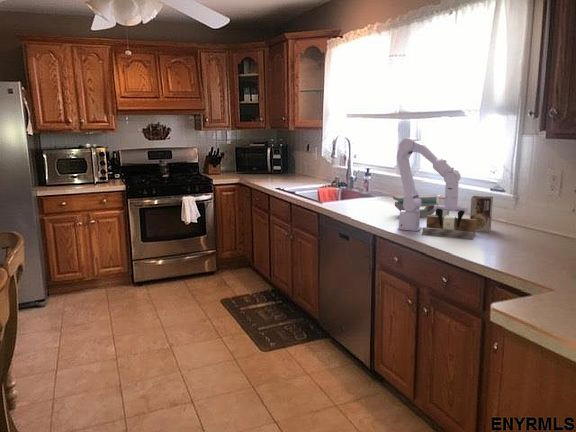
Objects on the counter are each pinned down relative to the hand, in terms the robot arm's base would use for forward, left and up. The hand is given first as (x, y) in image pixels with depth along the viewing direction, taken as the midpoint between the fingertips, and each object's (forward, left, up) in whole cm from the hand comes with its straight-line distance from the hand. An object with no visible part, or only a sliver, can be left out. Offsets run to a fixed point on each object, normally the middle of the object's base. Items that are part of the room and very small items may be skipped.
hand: (449, 226), depth 219 cm
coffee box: (+12, +14, -4) cm, 19 cm away
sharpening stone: (-23, +35, -4) cm, 42 cm away
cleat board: (0, -1, -4) cm, 4 cm away
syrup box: (-7, +21, -4) cm, 23 cm away
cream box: (0, 0, -3) cm, 3 cm away
